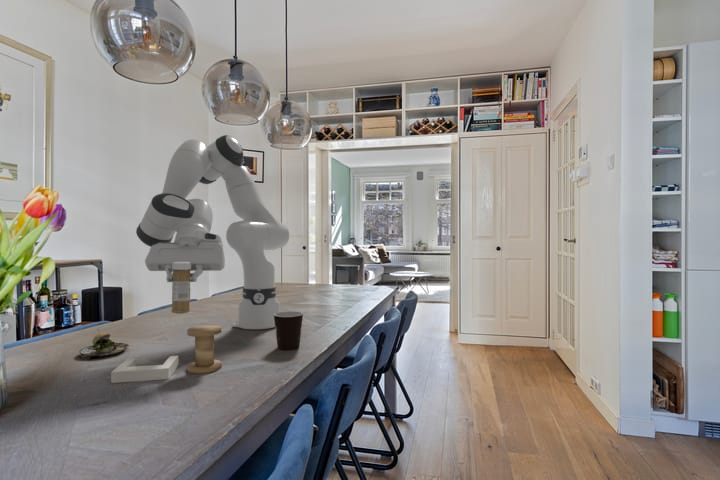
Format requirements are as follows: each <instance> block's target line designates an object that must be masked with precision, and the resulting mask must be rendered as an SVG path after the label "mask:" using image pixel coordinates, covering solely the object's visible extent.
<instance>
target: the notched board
mask: <svg viewBox="0 0 720 480" xmlns="http://www.w3.org/2000/svg"><path fill="white" fill-rule="evenodd" d="M178 367H179V355H170V356H169V357H168V358H167V359H166V360H165V362H164V363H163V364H156V365H155V364H154V365H139V366H138V365H137V358H135V357H133V358H126V359H125V360H124V361H123V362H121V363H120V364H119V365H118V366H116V368H114V369H113V370H112V371H111V372H110V375H111V376H110V379H111V380H110V381H111V382H110V383H111V384H118V383H131V382H133V383H134V382H145V381H146V382H147V381H157V380H159V381H160V380H169V379H170V378H171V376H172V375H173V373H174V372H176V369H177V368H178Z"/></svg>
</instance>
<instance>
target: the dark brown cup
mask: <svg viewBox="0 0 720 480" xmlns="http://www.w3.org/2000/svg"><path fill="white" fill-rule="evenodd" d="M303 316H304V312H302V311H296V310H295V311H294V310H288V311H287V310H286V311H280V312H278V313H275V314H274V321H275V327H274V329H275V336H276V337H275V338H276V346H277V349H278V350H281V351H294V350H297V349H299V348H300V346H301V345H300V343H301V337H302V336H301V335H302V328H303V327H302V326H303V320H304V319H303V318H304V317H303Z"/></svg>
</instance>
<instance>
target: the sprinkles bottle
mask: <svg viewBox="0 0 720 480" xmlns="http://www.w3.org/2000/svg"><path fill="white" fill-rule="evenodd" d="M172 269H173V271H172V273H173V281H172V282H171V283H172V285H171V286H172V288H171V290H172V291H171V301H172V303H171V311H170V312H171V313H173V314H181V315H182V314H187V313H190V312H191V309H190V302H191V282H190V280H189V276H190V273H191V271H190V269H191V262H184V261H180V262H173V263H172Z"/></svg>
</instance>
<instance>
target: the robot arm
mask: <svg viewBox="0 0 720 480" xmlns="http://www.w3.org/2000/svg"><path fill="white" fill-rule="evenodd" d="M244 163H245V159H244V151H243V147H242V145H241V143H240V142H239V141H238V140H237V139H236V138H235V137H233V136H230V135H228V134H224V135H222V136H220V137H218V138H216V140H215V141H213V142H211V143H210V144H209V145H208V146H206V144H205V143H203V142H202V141H200V140H198V139H188V140H186V141H184V142H183V143H181V144H180V145H179V147H178V148H177V149H176V150H175V152H174V153H173V155H172V157H171V159H170V162H169V164H168V167H167V168H168V169H167V171H166V177H165V181H164V184H163V188H162V191H161V193H160V194H159V193H158V194H156V195H154V196H153V197H152V199H151V201H150V203H149V204H148V207H147V209H146V211H145V213H144V215H143V217H142V219H141V221H140V223H139V224H138V225H137V227H136V229H135V231H136V232H135V233H136V237H138V239H139V240H140V242H142V243H143V244H144V245H146V246H148V247H150V249H149V251H148V253H147V255H146V257H145V260H144V264H145V266H146V269H147V270H148V271H150V272H166V273H165V274H166V281H167V283H172V281H173V269H172V263H173V262H180V261H184V262H191V269H190V276H189V280H190V283H196V282H197V279H198V278H199V277H200V276H201V275H202V274H203V273H204V271H207V272H210V271H211V272H213V271H214V272H216V271H217V272H219V271H222V270H224V269H225V266H226V265H225V264H226V263H225V262H226V260H225V259H226V257H225V252H224V244H223V240H222V237H221V236H220V235H219V234H216V233H211V229H212V225H213V210H212V207H211V205H210V204H209V203H208V202H207V201H205V200H203V199H201V198H191V199H186V198H187V197H188V196H189V195H190V194H191V192H192V191H193V190H194V189H195V187H196V186H197V185H198V183H201V184H203V185H210V184H212V183H215V182H217V180H218V179H220V178H222V179H223V180H224V182H225V189H226V191H227V195H228V197H229V201H230V203H231V206H232V209H233V212H234V213H235V215H236V216H237V217H239V218H241V219H242V220H239V221H233V222H231V224H230V225H228V227H227V230H226V235H225V236H226V237H225V238H226V241H227V243H228V245H229V247H230V248H231V249H232V250H234V251H235V252H236V253H237V255H238V257H239V259H240V262H241V264H242V270H243V288H242V292H241V293H242V300H241V302H239V303H238V313H237V315H238V316H237V317H238V318H237V320H236V321H235V322H234V323H233V324H232V327H234V328H240V329H243V330H266V329H272V328H275V321H274V314H275V313H278V312H281V309H280V307H281V304H280V301H279V300H277V298H276V296H277V289H276V288H277V287H276V286H275V279H276V278H275V266H274V264H273V263H272V262H270V261H269V260H268V259H267V258H266V255H265V252H264V251H274V250H278V249H281V248H283V247H285V246H286V245H287V244H288V242H289V240H290V231H289V229H288V227H287V226H286V225H285V224H284V223H282V222H281V221H280V220H278V219H277V218H276V217H275V216H274V215H273V214H272V213H271V212H270V210H269V209H268V208H267V206H265V205H266V204H265V203H264V201H263V199H262V196H261V194H260V192H259V189H258V187H257V184H256V182H255V180H254V178H253V176H252V174H251V173H250V171H249V170H248V168H247V167H245V166H244ZM175 233H176V234H175ZM174 236H175V237H174ZM173 239H174V241H173ZM172 241H173V242H172ZM192 271H193V272H192ZM191 272H192V273H191Z"/></svg>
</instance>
